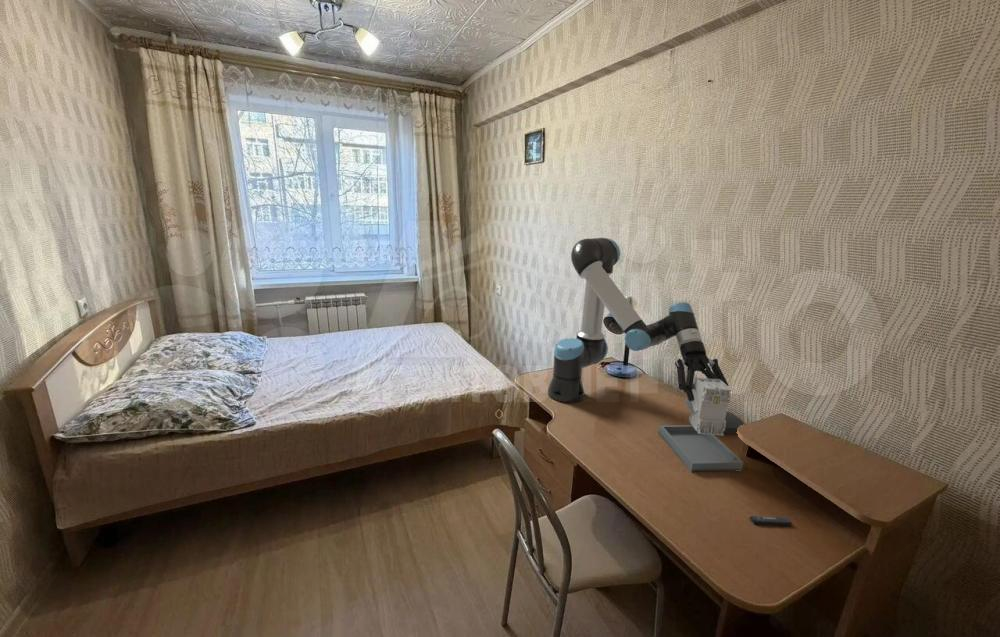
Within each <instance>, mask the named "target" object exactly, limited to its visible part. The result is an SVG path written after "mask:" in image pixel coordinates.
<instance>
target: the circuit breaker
mask: <svg viewBox="0 0 1000 637" xmlns="http://www.w3.org/2000/svg"><path fill="white" fill-rule="evenodd" d="M692 389H695V391H696V395H697V401H698V406H699V410H698V411H697V412H694V409H693V406H692V402H691V401H689V400H688V396H687V395H686V399H685V405H686V406H687V408H688V409H689V414H690V415H689V417H688V422H689V423H690V425H692V426H693V427H694V429H695V430H696V431H697V432H698V434H708V435H715V436H725V434H723V431H725V426H726V420H725V417H726V412H728V409H727V408H728V404H730V403H731V398H732V395H731V392H732V389H731V388H730V387H729V386H727V385H726V384H725V383H724V382H723V381H722V380H721V379H708V378H707V377H705V378H704V377H702V378H701V377H694V382H693V385H692ZM723 426H724V428H723ZM701 431H702V432H701Z"/></svg>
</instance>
